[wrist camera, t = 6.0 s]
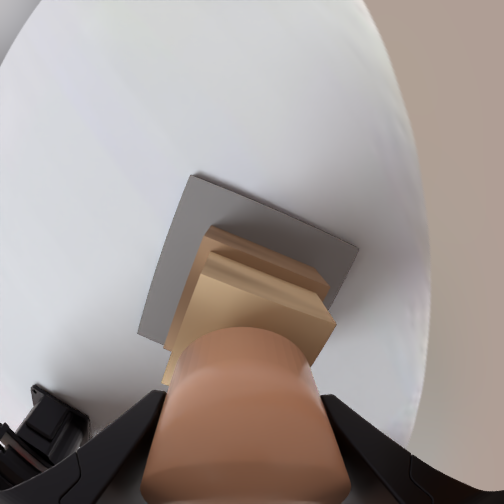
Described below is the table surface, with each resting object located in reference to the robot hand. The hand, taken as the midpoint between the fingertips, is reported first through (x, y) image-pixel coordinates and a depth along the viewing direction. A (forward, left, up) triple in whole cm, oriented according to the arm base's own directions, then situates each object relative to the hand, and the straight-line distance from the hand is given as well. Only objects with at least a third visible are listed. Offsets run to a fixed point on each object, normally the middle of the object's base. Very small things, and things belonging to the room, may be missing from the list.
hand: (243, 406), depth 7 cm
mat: (0, 0, -9) cm, 9 cm away
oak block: (0, 0, -5) cm, 5 cm away
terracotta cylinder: (0, 0, -1) cm, 1 cm away
